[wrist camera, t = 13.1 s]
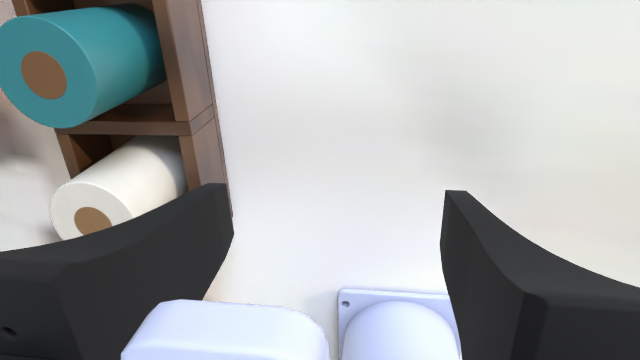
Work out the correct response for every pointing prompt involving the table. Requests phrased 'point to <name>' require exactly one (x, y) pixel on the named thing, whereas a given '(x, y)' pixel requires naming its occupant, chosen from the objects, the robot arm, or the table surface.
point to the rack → (154, 96)
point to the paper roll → (79, 61)
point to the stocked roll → (120, 186)
